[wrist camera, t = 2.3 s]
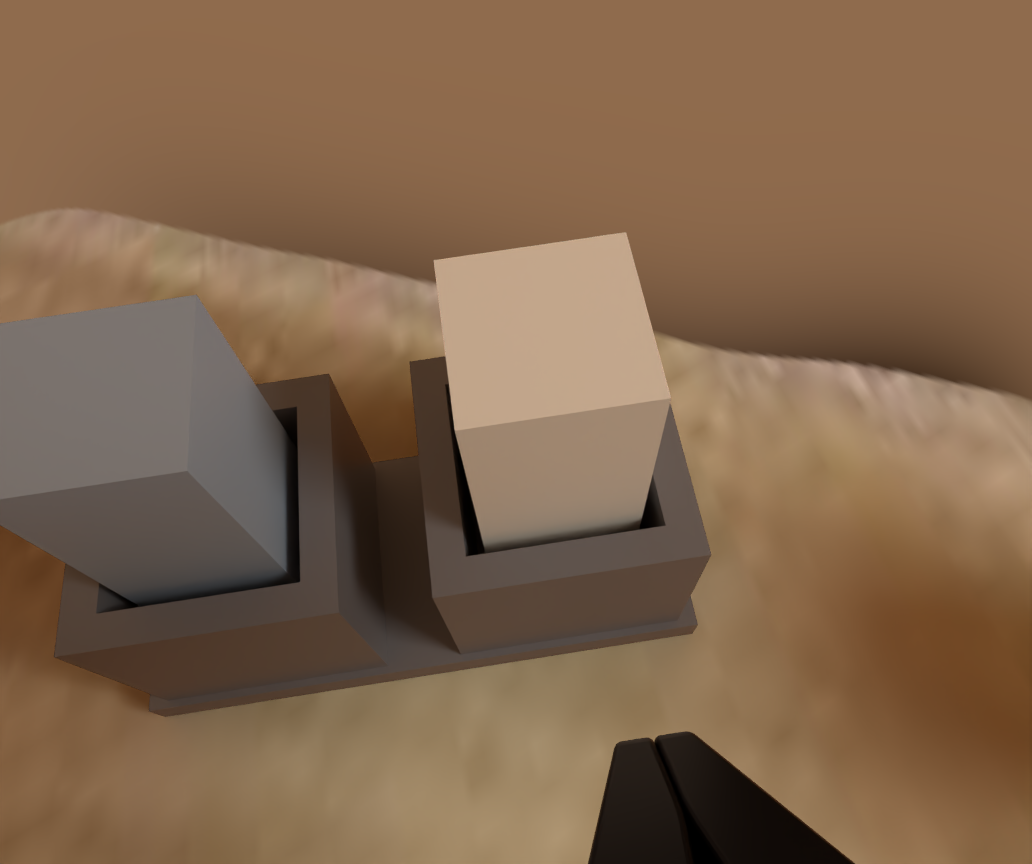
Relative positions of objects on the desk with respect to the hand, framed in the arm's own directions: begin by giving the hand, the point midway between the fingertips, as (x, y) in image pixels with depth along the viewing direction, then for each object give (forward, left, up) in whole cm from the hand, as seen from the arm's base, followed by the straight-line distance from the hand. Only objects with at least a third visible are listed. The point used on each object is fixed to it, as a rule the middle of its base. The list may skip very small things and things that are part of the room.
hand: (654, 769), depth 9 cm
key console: (0, +8, -13) cm, 16 cm away
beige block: (+3, +7, -9) cm, 12 cm away
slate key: (-4, +10, -9) cm, 14 cm away
